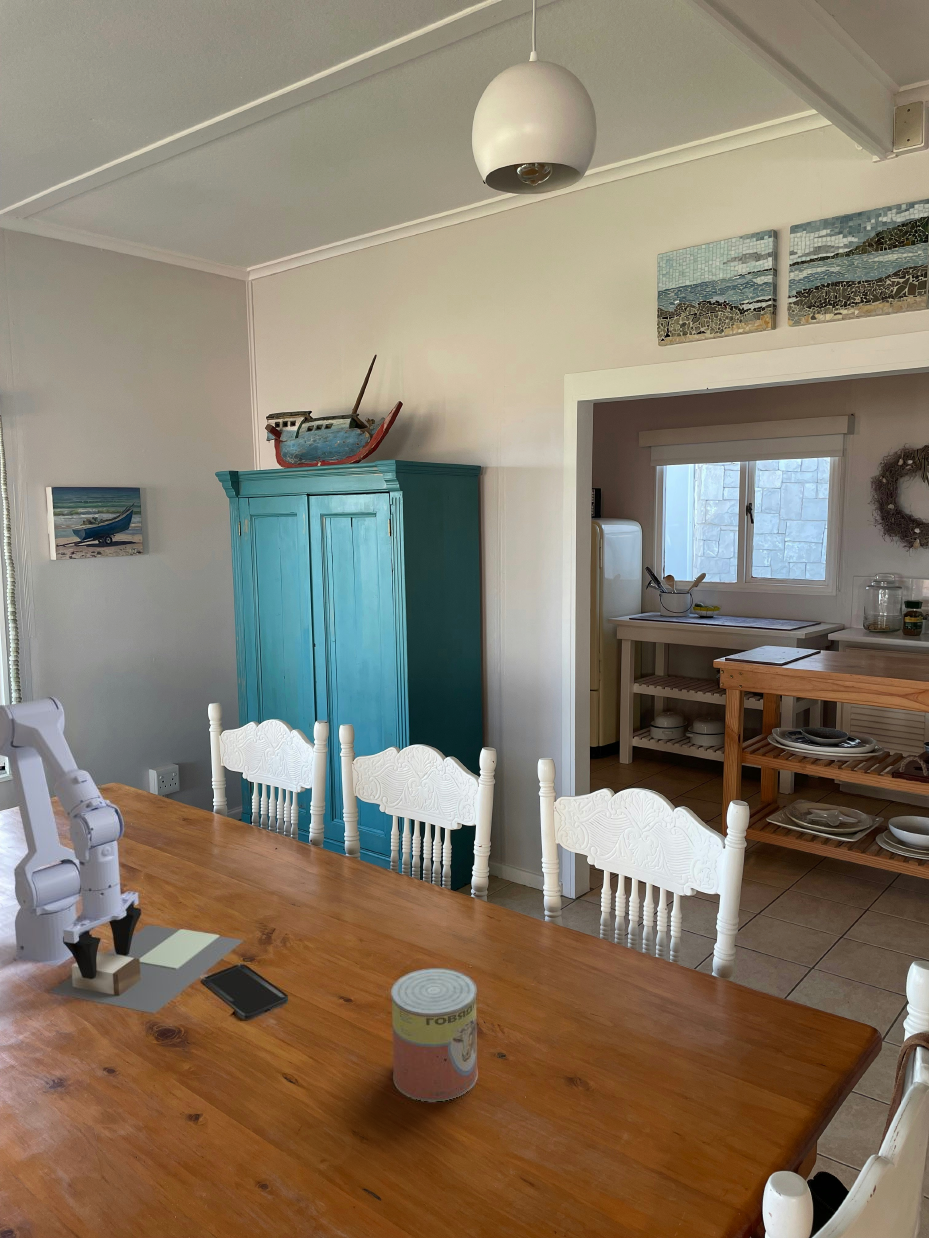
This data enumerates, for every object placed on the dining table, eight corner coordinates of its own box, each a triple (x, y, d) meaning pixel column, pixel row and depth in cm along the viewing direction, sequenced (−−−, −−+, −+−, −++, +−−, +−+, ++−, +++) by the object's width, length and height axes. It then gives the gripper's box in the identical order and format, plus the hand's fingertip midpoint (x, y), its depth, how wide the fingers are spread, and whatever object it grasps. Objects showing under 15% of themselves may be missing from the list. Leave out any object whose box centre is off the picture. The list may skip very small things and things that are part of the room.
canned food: (447, 1113, 111) (446, 1023, 109) (376, 1083, 117) (373, 997, 115) (493, 1065, 120) (492, 981, 119) (424, 1040, 126) (422, 960, 125)
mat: (48, 995, 139) (48, 991, 139) (149, 927, 162) (148, 924, 162) (154, 1017, 133) (154, 1013, 133) (243, 943, 156) (243, 940, 155)
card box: (72, 986, 141) (71, 965, 141) (95, 971, 146) (93, 950, 145) (119, 995, 138) (118, 974, 138) (140, 979, 143) (139, 958, 142)
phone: (242, 962, 148) (291, 997, 137) (242, 968, 148) (291, 1003, 137) (198, 979, 142) (244, 1017, 131) (198, 986, 142) (245, 1024, 131)
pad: (176, 969, 146) (176, 968, 146) (136, 961, 148) (136, 960, 148) (219, 936, 157) (219, 935, 157) (181, 929, 160) (181, 928, 160)
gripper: (87, 905, 132) (93, 992, 133) (151, 868, 145) (156, 947, 147) (49, 900, 134) (56, 985, 136) (116, 864, 148) (121, 941, 149)
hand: (106, 965), depth 141 cm, fingers open, 7 cm apart
